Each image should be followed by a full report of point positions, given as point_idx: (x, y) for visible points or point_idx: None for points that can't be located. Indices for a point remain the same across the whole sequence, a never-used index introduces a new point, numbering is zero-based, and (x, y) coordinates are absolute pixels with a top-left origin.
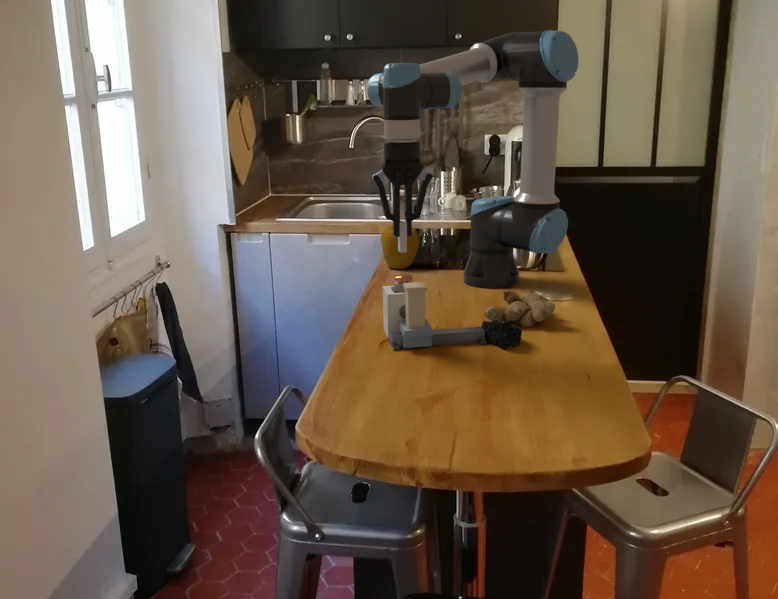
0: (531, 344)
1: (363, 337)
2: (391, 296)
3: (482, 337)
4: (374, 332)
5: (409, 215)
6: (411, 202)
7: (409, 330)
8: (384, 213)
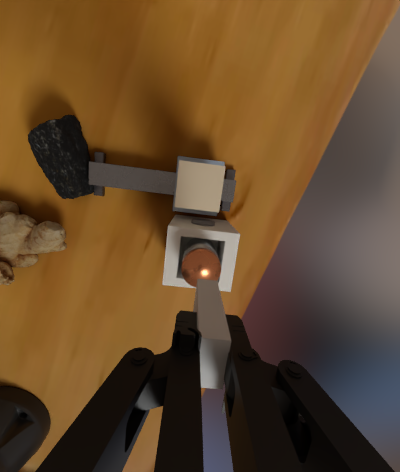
0: (29, 130)
1: (257, 236)
2: (231, 232)
3: (97, 162)
4: None
5: (183, 364)
6: (162, 446)
7: (215, 162)
8: (304, 420)
